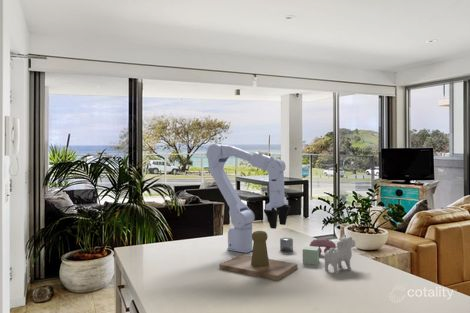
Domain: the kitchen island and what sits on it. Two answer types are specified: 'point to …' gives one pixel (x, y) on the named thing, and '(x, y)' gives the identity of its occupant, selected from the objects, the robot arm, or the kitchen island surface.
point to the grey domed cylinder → (286, 244)
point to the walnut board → (271, 271)
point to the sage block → (310, 255)
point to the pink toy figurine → (323, 244)
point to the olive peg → (259, 249)
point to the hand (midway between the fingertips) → (278, 226)
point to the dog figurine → (340, 253)
